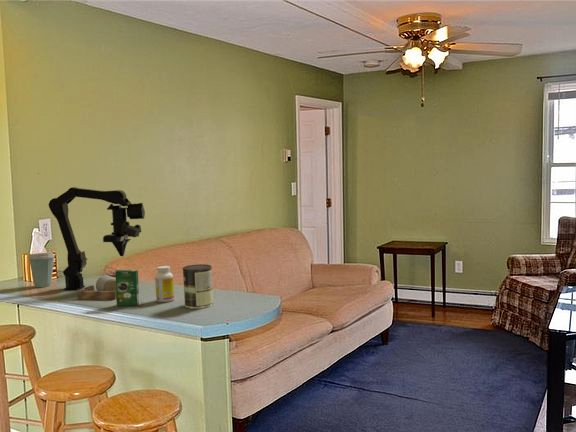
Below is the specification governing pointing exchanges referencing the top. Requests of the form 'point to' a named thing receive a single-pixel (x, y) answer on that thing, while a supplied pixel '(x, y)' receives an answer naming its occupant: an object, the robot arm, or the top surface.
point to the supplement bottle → (164, 284)
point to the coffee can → (198, 286)
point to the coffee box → (127, 287)
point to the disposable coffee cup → (42, 268)
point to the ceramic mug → (106, 283)
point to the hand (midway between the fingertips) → (122, 256)
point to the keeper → (96, 294)
